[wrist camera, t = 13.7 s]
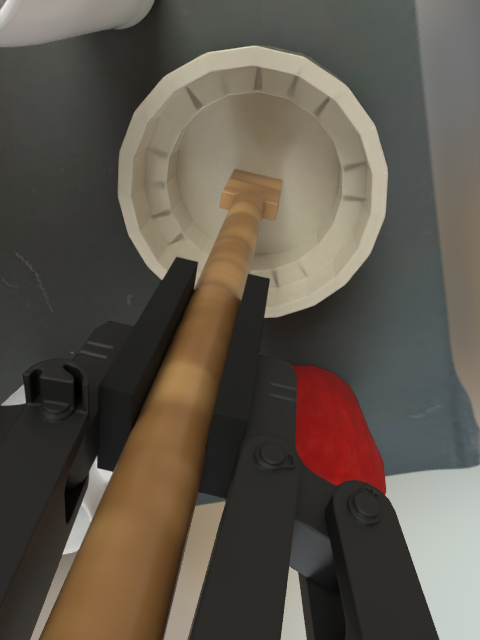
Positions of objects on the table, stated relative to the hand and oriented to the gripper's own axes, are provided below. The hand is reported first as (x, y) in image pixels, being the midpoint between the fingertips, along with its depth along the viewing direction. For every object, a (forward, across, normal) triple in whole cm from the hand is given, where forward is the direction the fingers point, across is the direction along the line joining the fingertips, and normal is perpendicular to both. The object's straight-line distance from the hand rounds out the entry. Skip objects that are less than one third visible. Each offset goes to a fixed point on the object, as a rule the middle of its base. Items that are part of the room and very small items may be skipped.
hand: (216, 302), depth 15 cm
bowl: (+16, 0, 0) cm, 16 cm away
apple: (+17, +8, -17) cm, 25 cm away
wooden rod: (+16, 0, 0) cm, 16 cm away
